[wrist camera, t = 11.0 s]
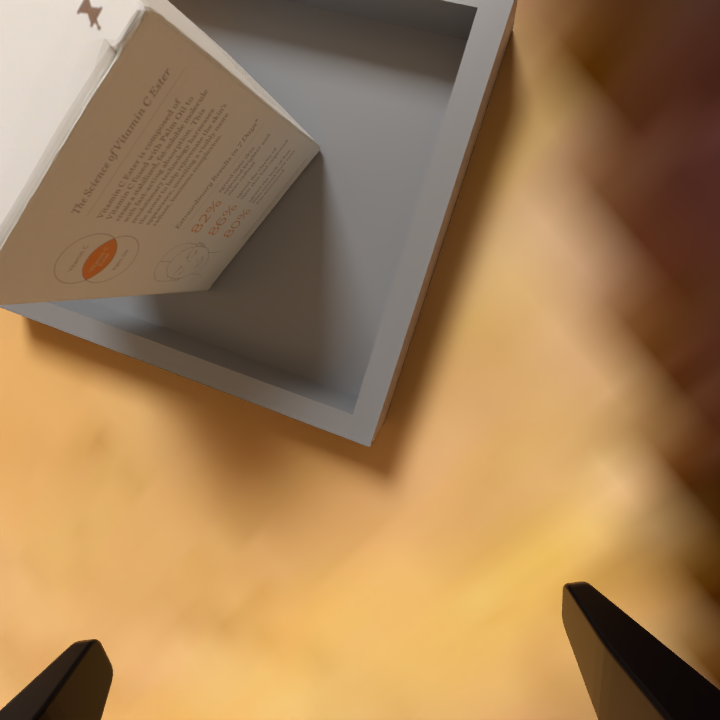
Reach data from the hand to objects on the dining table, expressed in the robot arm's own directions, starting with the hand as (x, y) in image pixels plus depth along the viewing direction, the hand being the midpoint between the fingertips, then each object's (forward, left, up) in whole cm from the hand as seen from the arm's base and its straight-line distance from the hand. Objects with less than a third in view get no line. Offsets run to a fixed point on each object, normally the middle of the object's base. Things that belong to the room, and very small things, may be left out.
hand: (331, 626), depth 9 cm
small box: (+11, -8, -11) cm, 18 cm away
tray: (+11, -8, -12) cm, 18 cm away
